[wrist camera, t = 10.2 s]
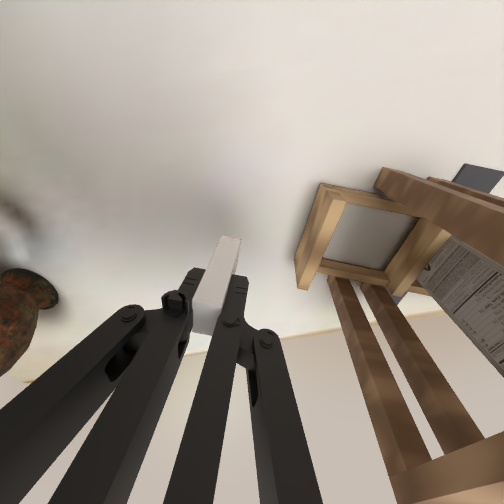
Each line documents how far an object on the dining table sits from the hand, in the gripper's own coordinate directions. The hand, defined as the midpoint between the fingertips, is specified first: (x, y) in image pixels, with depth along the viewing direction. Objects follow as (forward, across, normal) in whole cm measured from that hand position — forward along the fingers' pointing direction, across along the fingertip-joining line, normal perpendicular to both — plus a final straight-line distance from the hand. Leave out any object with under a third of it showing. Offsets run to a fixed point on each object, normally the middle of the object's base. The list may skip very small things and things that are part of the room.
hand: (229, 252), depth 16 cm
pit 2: (+11, +23, +7) cm, 26 cm away
